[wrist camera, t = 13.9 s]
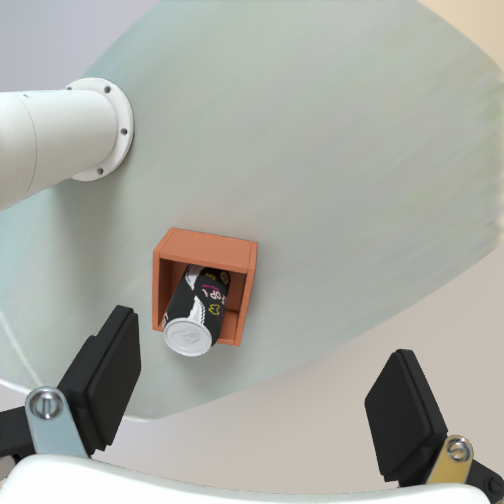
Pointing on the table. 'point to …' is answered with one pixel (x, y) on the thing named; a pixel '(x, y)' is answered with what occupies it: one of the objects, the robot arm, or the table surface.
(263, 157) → the table surface
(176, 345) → the beverage can
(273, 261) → the table surface
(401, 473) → the robot arm
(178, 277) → the bin
